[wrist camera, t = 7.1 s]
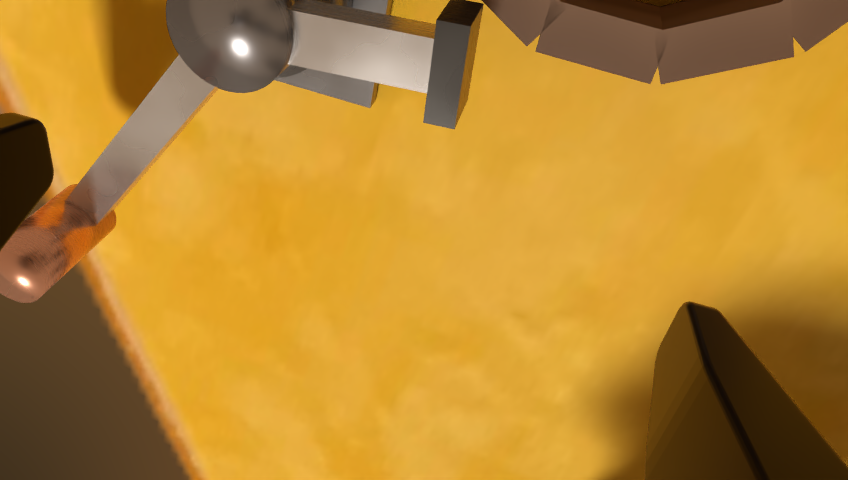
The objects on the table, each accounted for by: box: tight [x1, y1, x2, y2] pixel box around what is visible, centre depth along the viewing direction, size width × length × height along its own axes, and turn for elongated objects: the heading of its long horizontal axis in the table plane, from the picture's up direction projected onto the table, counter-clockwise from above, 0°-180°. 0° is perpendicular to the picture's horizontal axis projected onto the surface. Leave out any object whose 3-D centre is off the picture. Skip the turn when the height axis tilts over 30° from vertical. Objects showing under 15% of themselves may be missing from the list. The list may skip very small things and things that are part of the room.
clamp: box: [0, 0, 483, 303], centre depth 19 cm, size 7×16×4 cm, turn 135°
